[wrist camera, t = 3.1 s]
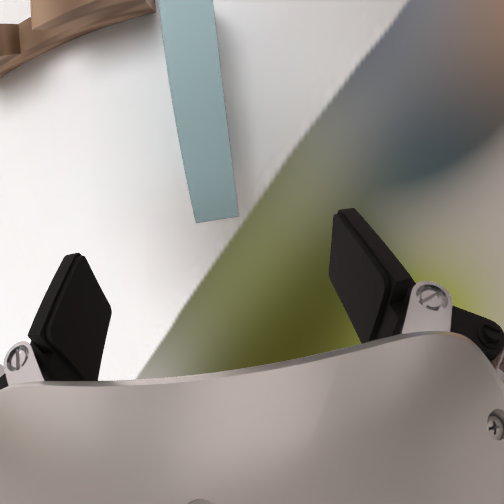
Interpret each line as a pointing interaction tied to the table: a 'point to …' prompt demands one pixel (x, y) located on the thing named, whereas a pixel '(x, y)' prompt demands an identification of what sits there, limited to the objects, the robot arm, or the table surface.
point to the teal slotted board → (199, 106)
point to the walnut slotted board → (61, 26)
